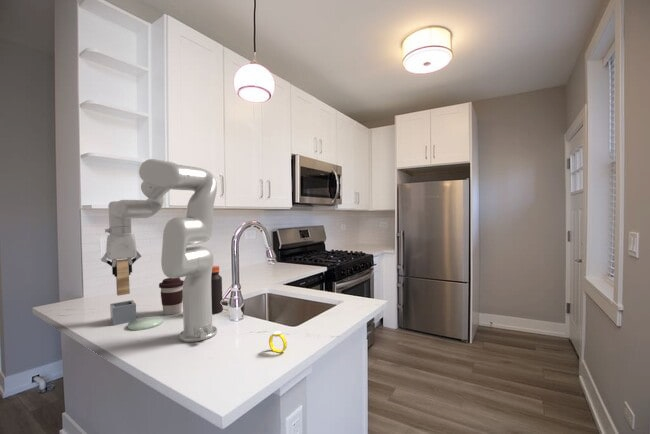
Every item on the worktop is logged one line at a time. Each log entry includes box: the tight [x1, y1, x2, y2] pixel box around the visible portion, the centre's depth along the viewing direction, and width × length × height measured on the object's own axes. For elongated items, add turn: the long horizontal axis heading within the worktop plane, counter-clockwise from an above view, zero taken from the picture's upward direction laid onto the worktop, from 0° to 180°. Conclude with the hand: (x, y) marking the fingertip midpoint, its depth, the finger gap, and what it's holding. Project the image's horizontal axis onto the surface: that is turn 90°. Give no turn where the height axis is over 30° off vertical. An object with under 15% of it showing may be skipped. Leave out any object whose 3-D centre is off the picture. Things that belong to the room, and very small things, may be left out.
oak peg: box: [115, 258, 131, 297], centre depth 126 cm, size 4×4×14 cm
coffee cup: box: [158, 277, 184, 316], centre depth 136 cm, size 10×10×15 cm
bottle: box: [211, 265, 224, 315], centre depth 135 cm, size 7×7×20 cm
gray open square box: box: [109, 299, 137, 326], centre depth 127 cm, size 8×8×7 cm
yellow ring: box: [268, 330, 288, 354], centre depth 95 cm, size 6×3×6 cm, turn 61°
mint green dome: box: [127, 315, 164, 331], centre depth 121 cm, size 12×12×1 cm
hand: (122, 274), depth 126 cm, fingers closed on oak peg, 4 cm apart
